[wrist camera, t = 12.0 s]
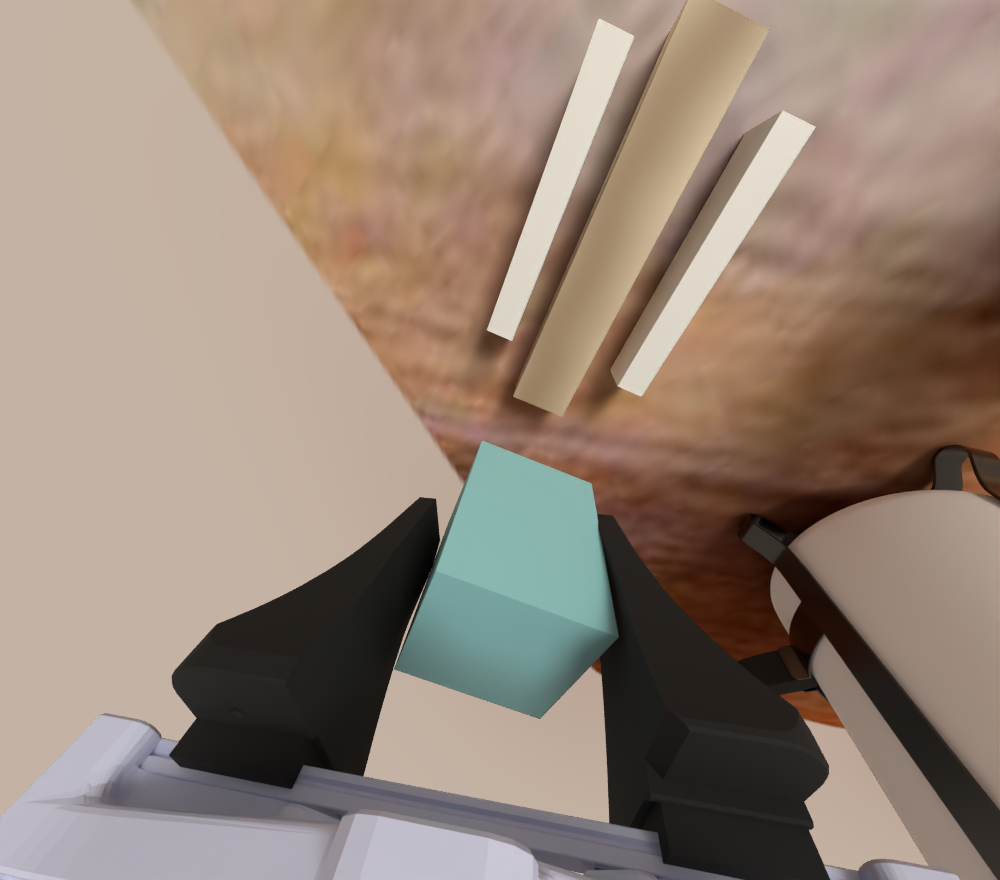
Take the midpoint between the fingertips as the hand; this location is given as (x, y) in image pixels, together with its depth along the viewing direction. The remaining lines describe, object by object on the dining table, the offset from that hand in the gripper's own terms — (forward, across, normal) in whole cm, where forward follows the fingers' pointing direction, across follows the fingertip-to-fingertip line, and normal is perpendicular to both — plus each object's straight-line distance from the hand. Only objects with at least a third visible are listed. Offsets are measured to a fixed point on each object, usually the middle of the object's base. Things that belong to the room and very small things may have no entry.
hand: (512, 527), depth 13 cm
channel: (+9, -3, -9) cm, 13 cm away
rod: (+9, -3, -9) cm, 13 cm away
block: (+2, 0, 0) cm, 2 cm away
